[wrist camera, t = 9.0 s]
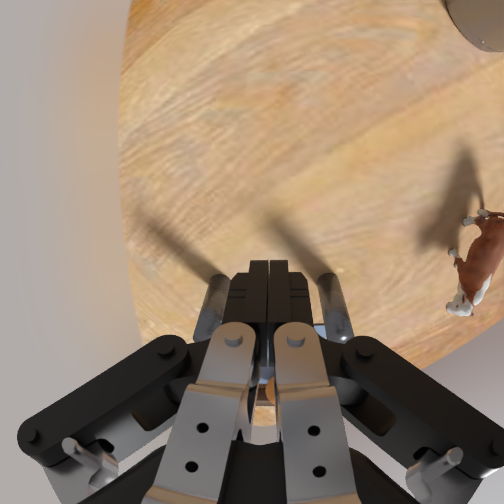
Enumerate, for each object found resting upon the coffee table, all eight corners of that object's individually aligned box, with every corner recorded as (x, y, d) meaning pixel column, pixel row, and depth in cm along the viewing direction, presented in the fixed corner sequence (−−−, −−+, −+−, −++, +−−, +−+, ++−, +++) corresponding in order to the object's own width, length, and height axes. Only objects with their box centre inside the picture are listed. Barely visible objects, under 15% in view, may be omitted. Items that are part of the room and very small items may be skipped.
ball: (265, 366, 42) (262, 391, 37) (300, 365, 41) (301, 391, 36) (267, 388, 44) (265, 413, 39) (300, 387, 43) (300, 412, 38)
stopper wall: (228, 387, 45) (226, 399, 43) (320, 387, 44) (321, 399, 42) (229, 393, 46) (228, 404, 44) (319, 393, 45) (320, 404, 43)
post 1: (208, 274, 33) (190, 330, 25) (230, 274, 33) (217, 331, 25) (211, 291, 34) (195, 347, 26) (232, 292, 34) (221, 349, 26)
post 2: (317, 273, 32) (329, 330, 24) (339, 273, 32) (356, 329, 24) (316, 291, 33) (325, 349, 25) (337, 290, 33) (351, 347, 25)
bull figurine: (423, 281, 32) (449, 324, 25) (474, 191, 25) (516, 221, 18) (444, 288, 32) (469, 329, 25) (493, 205, 25) (531, 236, 18)
